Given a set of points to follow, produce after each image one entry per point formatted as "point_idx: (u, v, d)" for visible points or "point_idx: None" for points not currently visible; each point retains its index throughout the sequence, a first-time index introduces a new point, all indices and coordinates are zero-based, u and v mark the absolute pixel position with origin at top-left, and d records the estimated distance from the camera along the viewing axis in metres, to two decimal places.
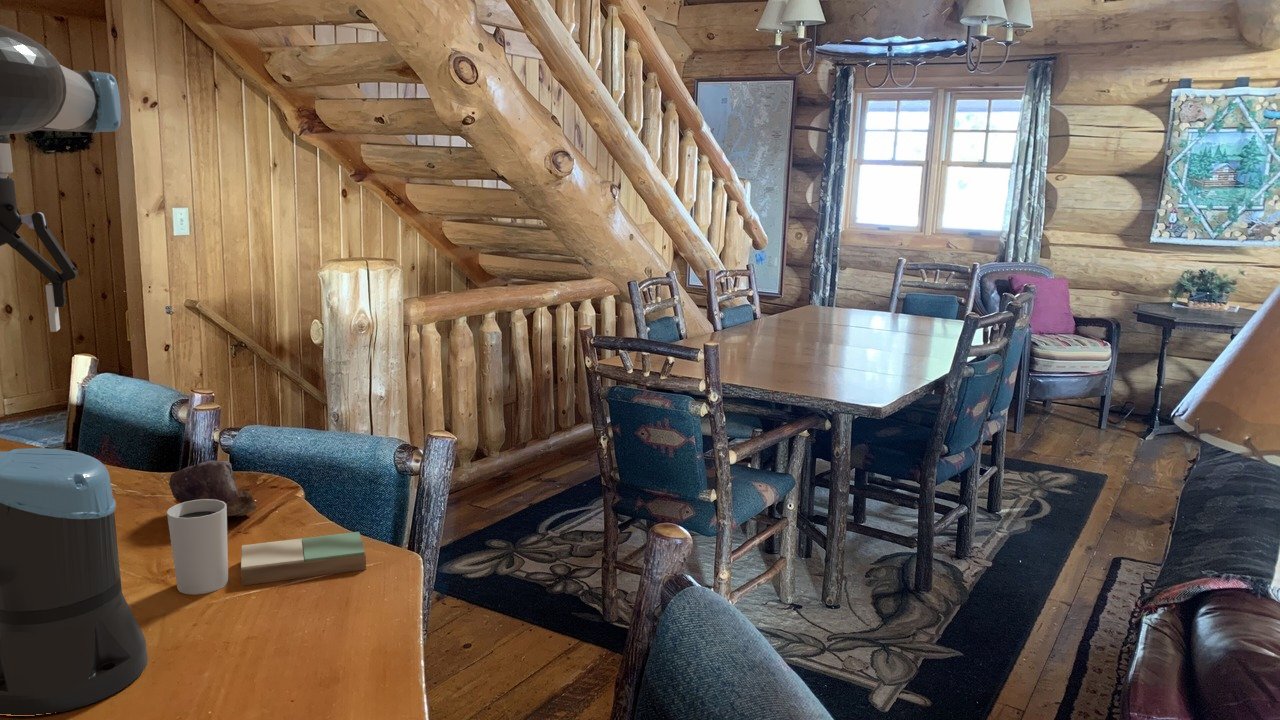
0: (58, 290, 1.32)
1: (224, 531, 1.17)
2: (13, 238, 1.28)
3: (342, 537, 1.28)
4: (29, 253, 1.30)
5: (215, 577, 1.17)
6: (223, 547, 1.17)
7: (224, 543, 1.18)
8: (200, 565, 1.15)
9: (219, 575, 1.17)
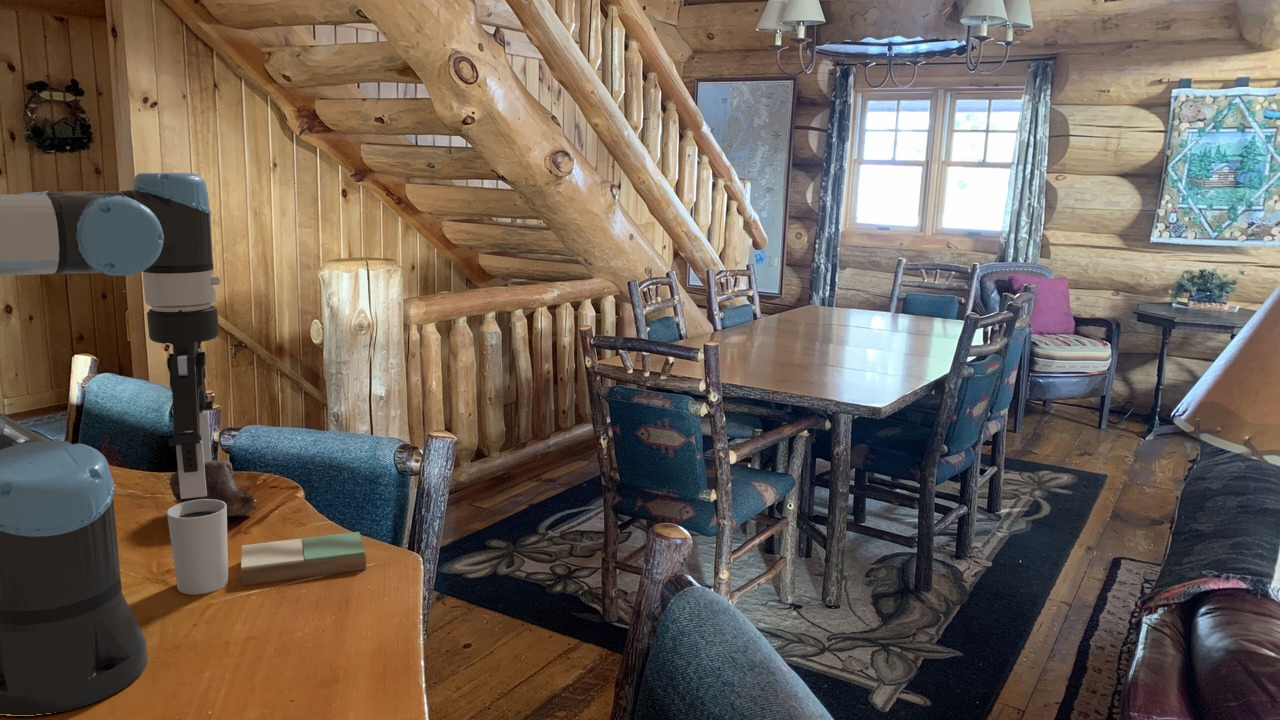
0: None
1: (224, 531, 1.17)
2: (170, 381, 1.10)
3: (342, 537, 1.28)
4: None
5: (215, 577, 1.17)
6: (223, 547, 1.17)
7: (224, 543, 1.18)
8: (200, 565, 1.15)
9: (219, 575, 1.17)
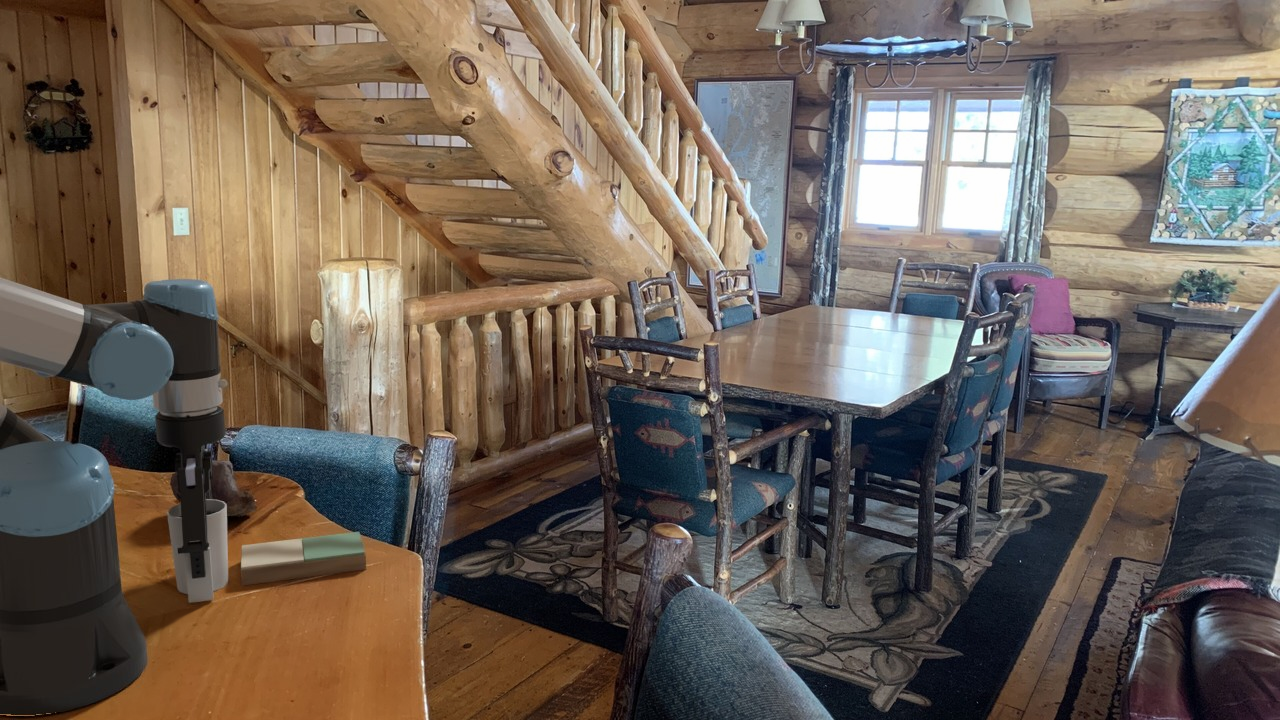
0: (190, 558, 1.12)
1: (224, 531, 1.17)
2: None
3: (342, 537, 1.28)
4: None
5: (215, 577, 1.17)
6: (223, 547, 1.17)
7: (224, 543, 1.18)
8: None
9: (219, 575, 1.17)
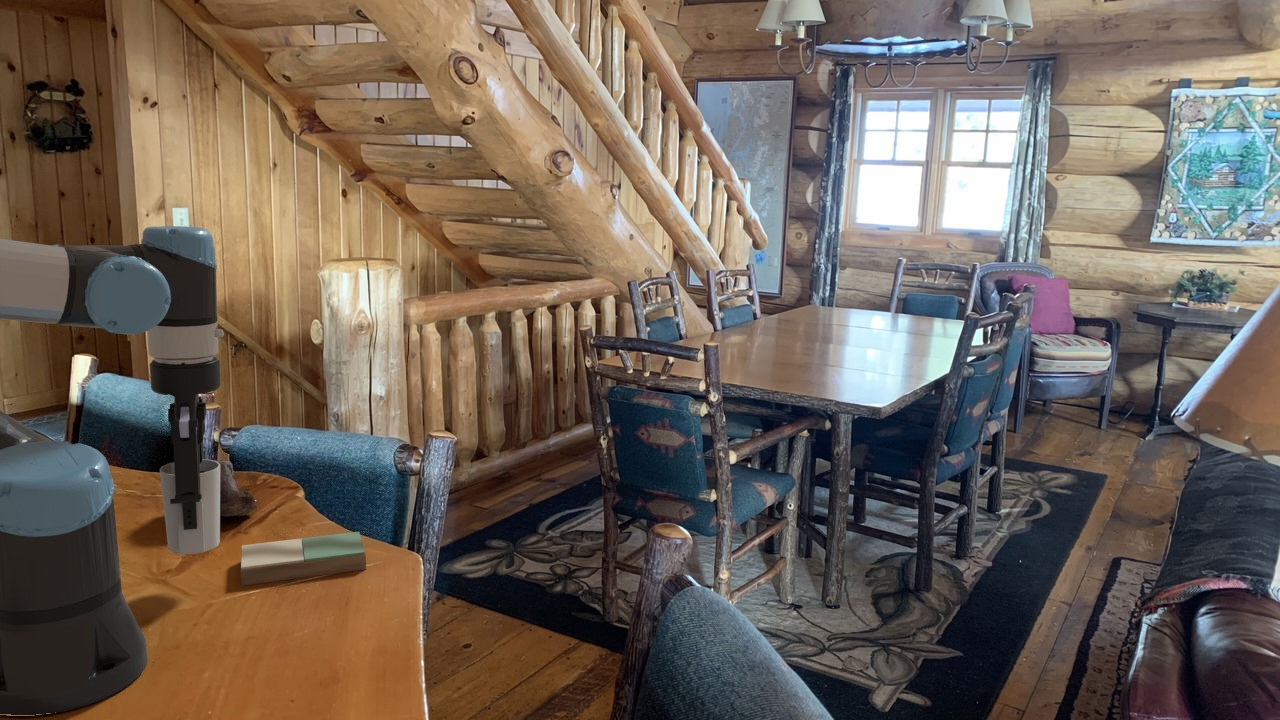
0: (183, 509, 1.12)
1: (217, 491, 1.16)
2: (171, 436, 1.12)
3: (342, 537, 1.28)
4: None
5: (207, 537, 1.15)
6: (216, 507, 1.16)
7: (217, 503, 1.16)
8: None
9: (211, 535, 1.16)
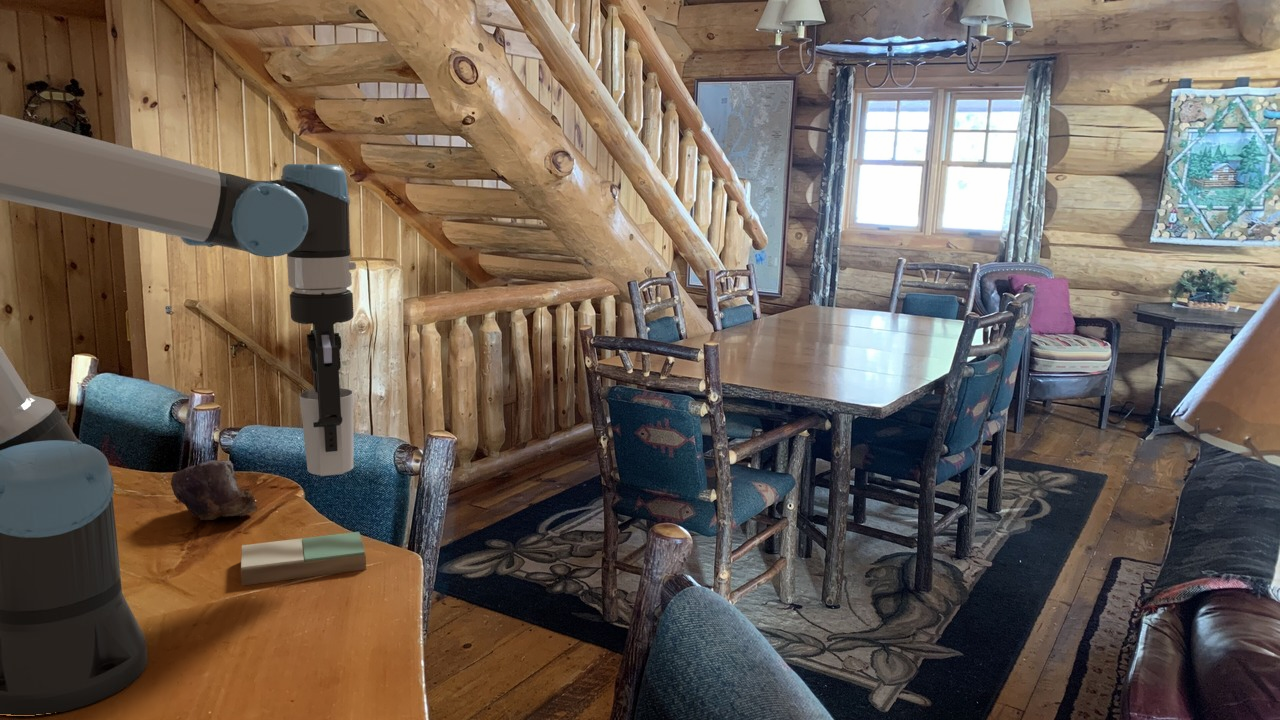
0: (324, 433, 1.18)
1: (352, 416, 1.22)
2: (311, 363, 1.18)
3: (342, 537, 1.28)
4: (317, 384, 1.18)
5: (344, 459, 1.22)
6: (351, 431, 1.22)
7: (352, 427, 1.23)
8: None
9: (347, 458, 1.22)
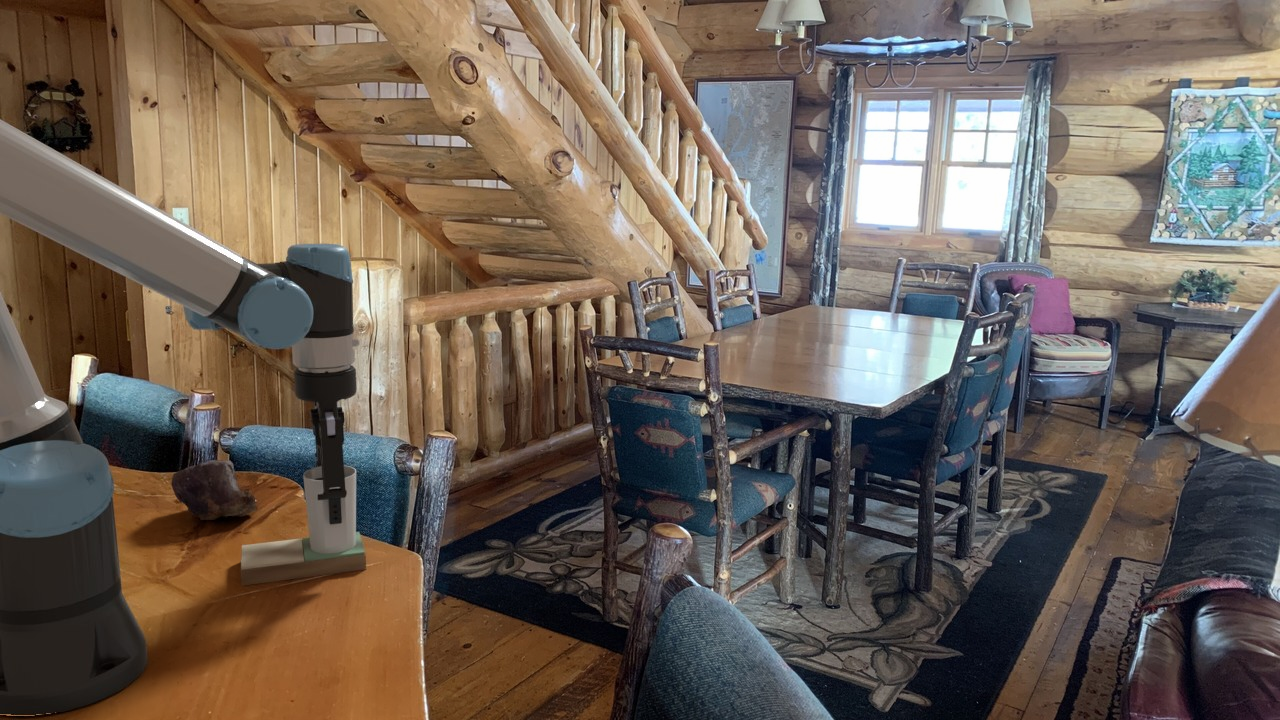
0: (328, 505, 1.18)
1: (355, 494, 1.24)
2: (315, 438, 1.19)
3: None
4: (321, 458, 1.19)
5: (347, 537, 1.24)
6: (354, 509, 1.25)
7: (354, 505, 1.25)
8: None
9: (350, 536, 1.24)
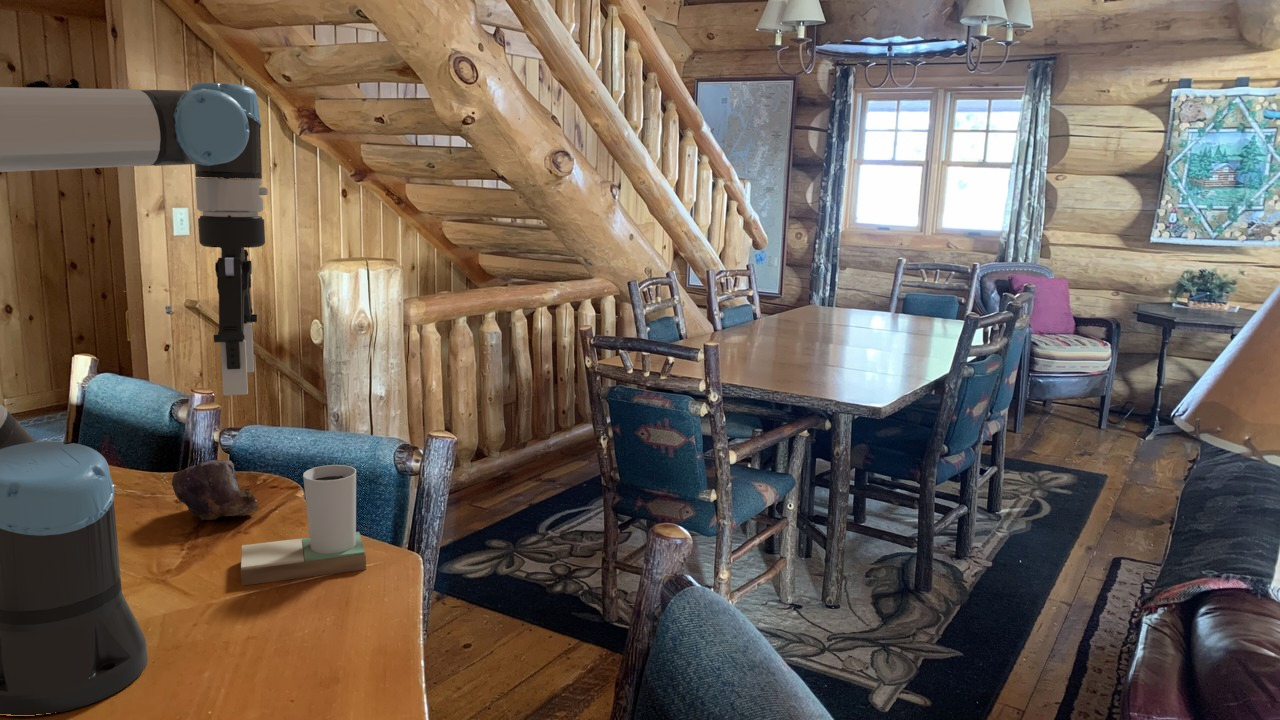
0: (226, 349, 1.13)
1: (355, 494, 1.24)
2: (217, 283, 1.15)
3: None
4: None
5: (347, 537, 1.24)
6: (354, 509, 1.25)
7: (354, 505, 1.25)
8: (334, 526, 1.22)
9: (350, 536, 1.24)
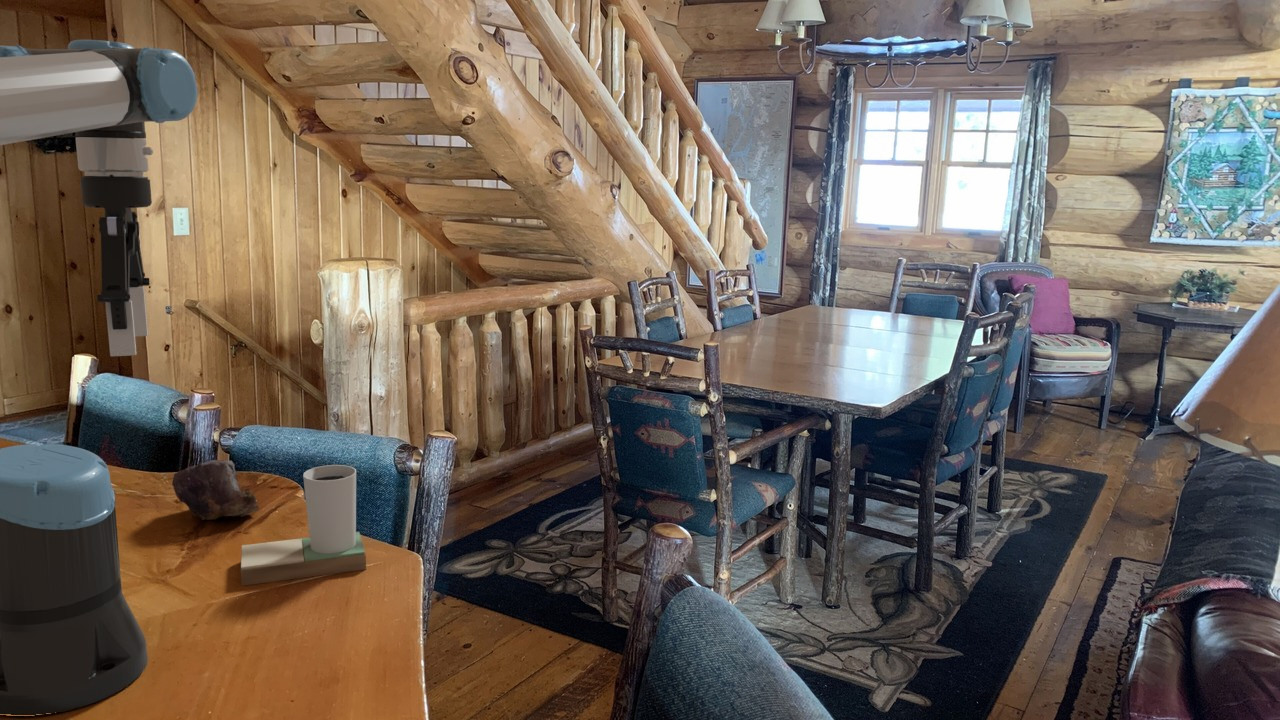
0: None
1: (355, 494, 1.24)
2: None
3: None
4: None
5: (347, 537, 1.24)
6: (354, 509, 1.25)
7: (354, 505, 1.25)
8: (334, 526, 1.22)
9: (350, 536, 1.24)
